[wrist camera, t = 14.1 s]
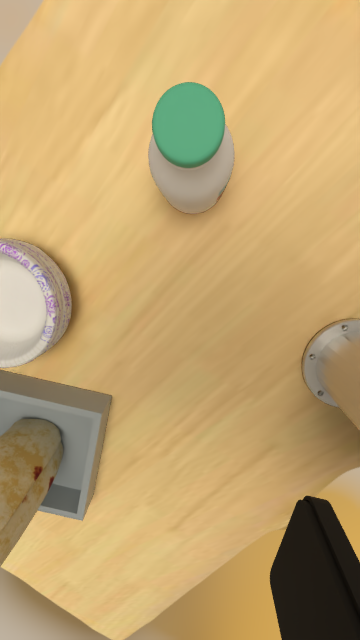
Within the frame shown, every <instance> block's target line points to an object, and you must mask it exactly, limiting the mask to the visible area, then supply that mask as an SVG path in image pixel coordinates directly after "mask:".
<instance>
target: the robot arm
mask: <svg viewBox="0 0 360 640" xmlns="http://www.w3.org/2000/svg"><path fill="white" fill-rule="evenodd" d="M343 325H344V326H343ZM342 326H343V328H341V327H342ZM310 354H312V355H311V356H309V355H310ZM302 373H303V377H304V380H305V382H306V384H307V386H308V388H309V389H310V390H311V392H312V393H313V394H314V395H315V396H316V397H317V398H318V399H320V400H321V401H323V402H324V403H326V404H328V405H331V406H334V407H339V408H341V410H342V411H343V412H344V413H345V414H346V415H347V417H348V418H349V419H350V420H351V421H352V423H353V424H354V425H355V426H356V427H357V429H358V430H359V431H360V319H346V320H341V321H338V322H335V323H333V324H331V325H329V326H327V327H325V328H324V329H322V330H321V331H320V332H318V333H317V334H316V335H315V337H314V338H313V339H312V340H311V341H310V343H309V344H308V346H307V348H306V350H305V353H304V355H303V361H302ZM319 390H320V391H319ZM270 585H271V590H272V595H273V600H274V604H275V609H276V613H277V619H278V623H279V628H280V633H281V638H282V640H360V562H359V560H358V558H357V556H356V554H355V552H354V550H353V548H352V546H351V544H350V542H349V540H348V538H347V536H346V534H345V532H344V530H343V528H342V526H341V524H340V522H339V520H338V518H337V516H336V514H335V512H334V510H333V508H332V506H331V504H330V503H329V502H328V501H327V500H324V499H320V498H315V497H311V496H305V497H304V499H303V500H298V502H297V503H296V506H295V509H294V511H293V514H292V516H291V519H290V521H289V524H288V527H287V529H286V532H285V534H284V537H283V539H282V542H281V545H280V547H279V550H278V552H277V555H276V557H275V560H274V562H273V565H272V568H271V572H270Z"/></svg>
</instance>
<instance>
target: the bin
mask: <svg viewBox="0 0 360 640" xmlns="http://www.w3.org/2000/svg"><path fill="white" fill-rule="evenodd" d="M111 398H112V396H111V395H107V394H103V393H98V392H94V391H90V390H85V389H81V388H77V387H72V386H68V385H64V384H59V383H55V382H51V381H46V380H42V379H38V378H33V377H29V376H25V375H20V374H16V373H12V372H7V371H3V370H0V436H1V435H2V434H4V433H5V432H6V431H7V430H8V429H9V428H10V427H11V426H12V425H13V424H14V423H15V422H16V421H18V420H20V419H42V420H46V421H49V422H51V423H53V424H54V425H55V426H56V427H57V428H58V429H59V432H60V437H61V443H62V445H63V455H62V460H61V463H60V467H59V469H58V472H57V475H56V477H55V479H54V481H53V483H52V485H51V487H50V489H49V491H48V493H47V494H46V496H45V498H44V500H43V502H42V503H41V505H40V507H39V508H38V511H42V512H47V513H51V514H55V515H60V516H64V517H68V518H73V519H77V520H81V521H83V519H84V516H85V514H86V512H87V509H88V507H89V504H90V502H91V499H92V497H93V495H94V490H95V484H96V479H97V474H98V468H99V463H100V457H101V452H102V447H103V441H104V436H105V431H106V425H107V420H108V414H109V409H110V404H111Z"/></svg>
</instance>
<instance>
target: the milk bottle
mask: <svg viewBox="0 0 360 640" xmlns="http://www.w3.org/2000/svg"><path fill="white" fill-rule="evenodd" d="M152 131H153V135H152V137H151V141H150V145H149V154H148V157H149V166H150V171H151V174H152V177H153V179H154V181H155V183H156V185H157V187H158V188H159V190H160V191H161V193H162V194H163V195H164V197H165V198H166V199H167V201H168V202H169V203H170V204H171V205H172V206H173V207H175V208H176V209H177V210H179V211H181V212H184V213H189V214H197V213H201V212H204V211H206V210H208V209H210V208H211V207H212V206H214V205H215V204H216V202H217V201H218V200H219V199H220V197H221V195H222V193H223V192H224V190H225V188H226V185H227V183H228V181H229V179H230V176H231V173H232V169H233V165H234V144H233V140H232V137H231V134H230V132H229V130H228V128H227V126H226V124H225V115H224V111H223V108H222V105H221V103H220V101H219V100H218V98H217V97H216V95H215V94H214V93H213V92H212V91H211V90H210V89H208V88H207V87H205V86H203V85H201V84H198V83H192V82H186V83H181V84H178V85H175V86H173V87H172V88H170V89H169V90H168V91H166V92H165V93H164V94H163V96H162V97H161V98H160V100H159V101H158V103H157V105H156V108H155V110H154V114H153V119H152Z"/></svg>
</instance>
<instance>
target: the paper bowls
mask: <svg viewBox="0 0 360 640" xmlns="http://www.w3.org/2000/svg"><path fill="white" fill-rule="evenodd" d="M71 309H72V301H71V294H70V290H69V286H68V283H67V281H66V278H65V276H64V274H63V273H62V271H61V270H60V268H59V267H58V266H57V264H56V263H55V262H54V261H53V260H52V259H51V258H50V257H49V256H48V255H47V254H45V253H44V252H43V251H42V250H40V249H39V248H38V247H36V246H34V245H32V244H29V243H26V242H24V241H20V240H15V239H0V368H9V367H16V366H20V365H23V364H26V363H28V362H30V361H32V360H34V359H35V358H37V357H38V356H40V355H41V354H43V353H44V352H46V351H47V350H49V349H50V348H51V347H52V346H53V345H55V344H56V343H57V342H58V340H59V339H60V338H61V337H62V336H63V334H64V333H65V331H66V329H67V327H68V324H69V321H70V317H71Z"/></svg>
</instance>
